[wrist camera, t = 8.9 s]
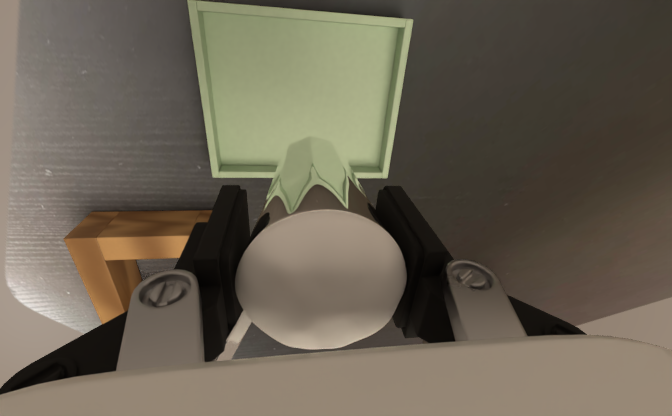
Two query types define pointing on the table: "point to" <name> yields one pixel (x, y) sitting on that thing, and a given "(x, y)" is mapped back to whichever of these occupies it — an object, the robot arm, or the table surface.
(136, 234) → the holder
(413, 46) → the table surface
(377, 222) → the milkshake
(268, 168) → the tray
